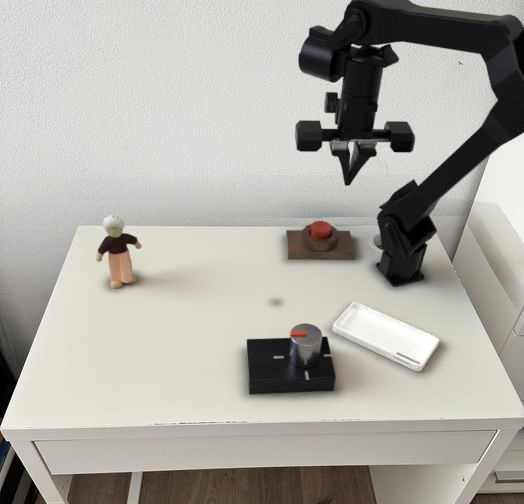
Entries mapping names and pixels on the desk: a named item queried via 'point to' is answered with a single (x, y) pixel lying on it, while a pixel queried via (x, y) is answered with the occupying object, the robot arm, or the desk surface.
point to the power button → (320, 230)
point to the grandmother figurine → (117, 251)
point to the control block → (319, 245)
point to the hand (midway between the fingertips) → (346, 184)
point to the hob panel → (286, 368)
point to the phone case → (386, 335)
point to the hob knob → (305, 345)
